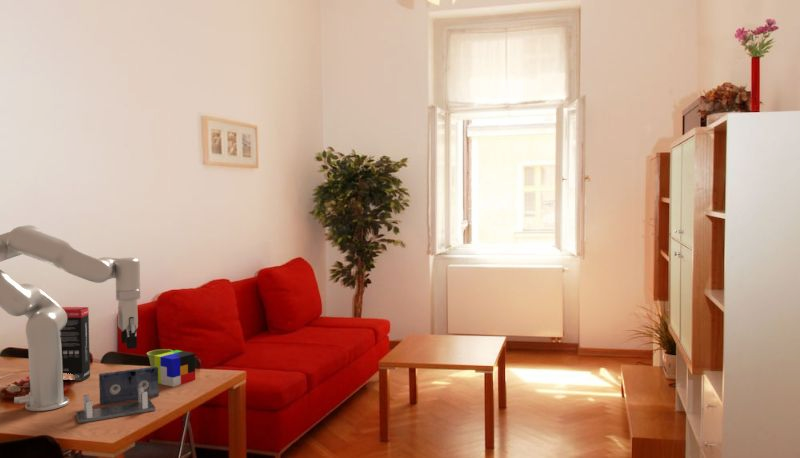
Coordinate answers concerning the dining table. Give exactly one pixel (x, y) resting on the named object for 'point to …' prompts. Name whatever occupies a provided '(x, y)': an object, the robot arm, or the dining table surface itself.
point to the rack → (114, 408)
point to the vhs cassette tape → (127, 384)
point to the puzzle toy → (175, 367)
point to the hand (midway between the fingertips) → (129, 345)
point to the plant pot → (154, 353)
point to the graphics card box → (76, 343)
